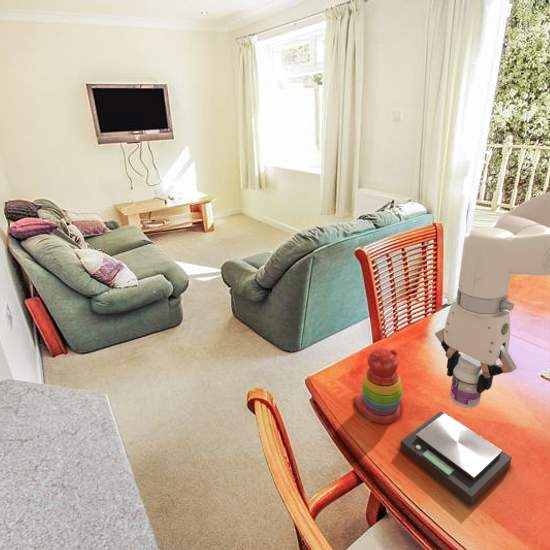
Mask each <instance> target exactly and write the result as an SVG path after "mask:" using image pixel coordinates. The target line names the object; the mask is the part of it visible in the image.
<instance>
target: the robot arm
mask: <svg viewBox="0 0 550 550" xmlns="http://www.w3.org/2000/svg"><path fill="white" fill-rule="evenodd" d="M513 275H521V276H522V275H523V276H534V277H544V276H550V191H547V192H545V193H541V194H539V195H536V196H534V197H531V198H530V199H527V200H526V201H524V202H522V203H521V204H519V205H517V206H515V207H514V208H512V209H510V210H509V211H506V213H504V214H502V216H500V217H498V219H496V220H495V221H494V222H493V224H491V226H490V227H489V226H488V227H487V226H486V227H484V226H483V227H477V228H473V229H470V230H469V231H468V232H467V233H466V234H465V236H464V240H463V247H462V253H461V261H460V270H459V276H458V284H457V291H456V297H455V298H453V300H452V302H451V305H450V308H449V309H448V313H447V317H446V320H445V325H444V327H443V328H441V329H439V330H438V331H436V332H435V333H434V335H435V337H436V338H437V340H438V342H439V343H440V345H441V347H442V349H443V351H444V352H445V354H444V355H445V357H446V358H447V362H446V369H447V372H446V376H447V377H450V378H451V377H453V370H454V367H455V366H456V365H457V364H458V361H459V357H460V356H462V354H463V355H468V356H470V357H472V358H474V359H476V360H478V361H480V362H481V368H482V374H480V375H479V379H478V385H477V392H478V393H480V394H481V395H482V393H483V392H485V391H489V390H490V389H491V388H492V385H493V379H494V376H495V377H496V376H499V375H501V374H508V373H512V372H514V371H515V370H516V369H517V365H516V364H515V362H514V360H513V358H512V356H511V355H510V353H509V347H510V341H511V340H510V339H511V313H510V312H511V311H513V309H514V308H515V304H514V303H513V302H511V301H510V300H508V299H509V294H508V292H509V287H510V282H511V277H512V276H513ZM461 353H462V354H461ZM498 359H499V360H500V362H501V363H500V364H497V360H498Z"/></svg>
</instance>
